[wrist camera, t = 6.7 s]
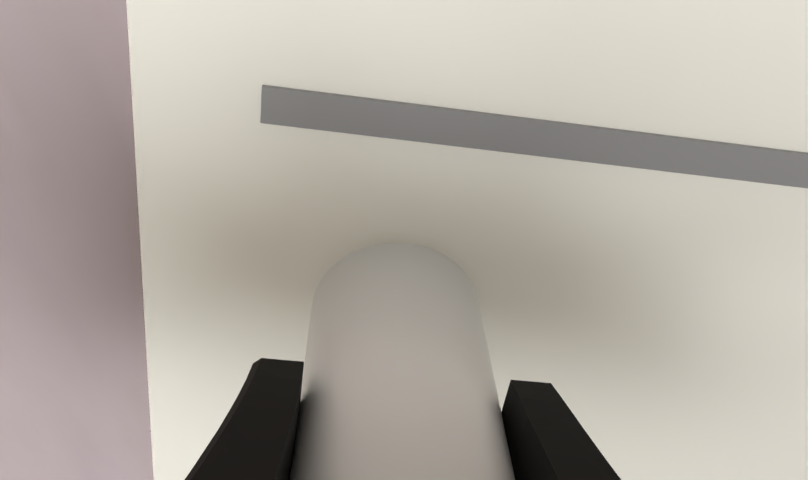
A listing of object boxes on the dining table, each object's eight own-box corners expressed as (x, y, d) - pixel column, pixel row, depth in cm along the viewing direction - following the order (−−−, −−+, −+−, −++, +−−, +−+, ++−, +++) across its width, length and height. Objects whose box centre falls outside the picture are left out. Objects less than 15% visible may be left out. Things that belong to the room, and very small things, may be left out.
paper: (1159, 26, 11) (1183, 33, 11) (807, 541, 18) (815, 555, 18) (126, -131, 10) (116, -129, 9) (158, 498, 16) (154, 513, 16)
